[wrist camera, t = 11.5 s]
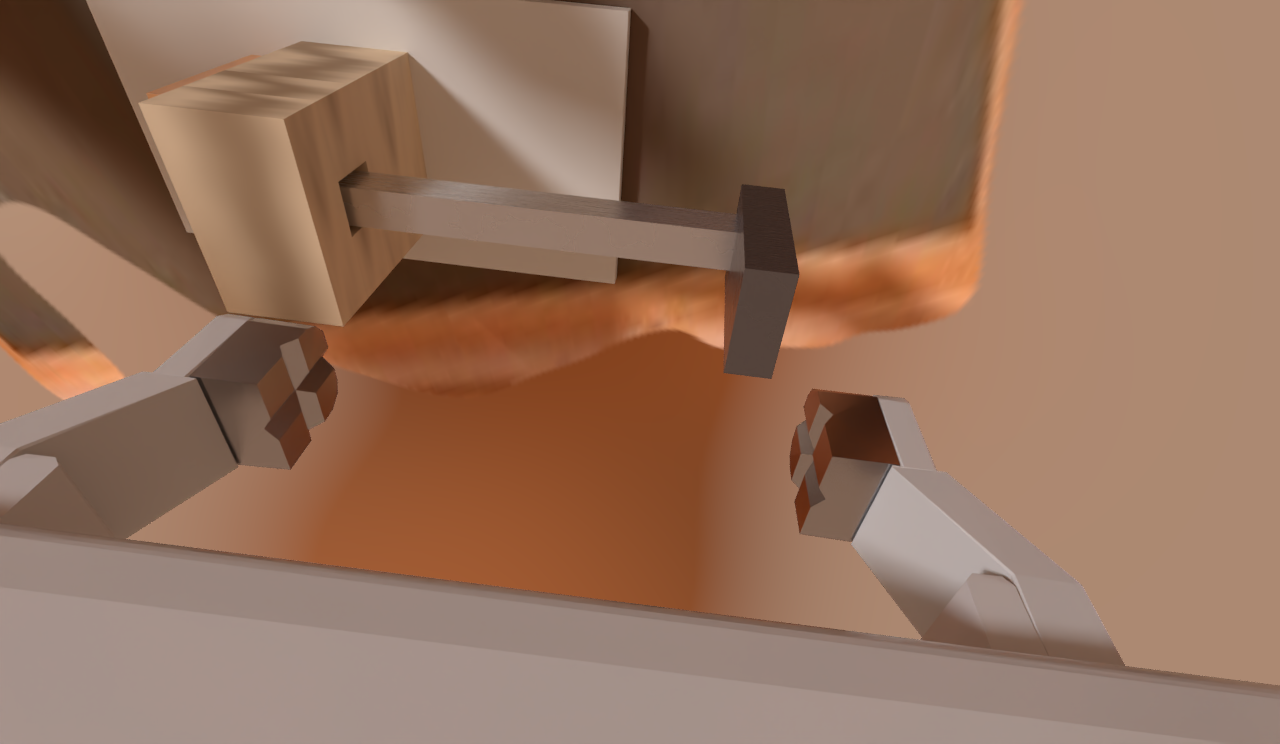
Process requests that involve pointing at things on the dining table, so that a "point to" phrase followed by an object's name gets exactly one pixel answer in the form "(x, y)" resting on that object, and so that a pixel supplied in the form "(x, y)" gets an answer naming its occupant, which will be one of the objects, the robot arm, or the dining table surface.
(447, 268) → the dining table surface
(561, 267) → the base board
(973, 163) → the dining table surface
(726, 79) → the dining table surface
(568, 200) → the shaft
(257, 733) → the robot arm
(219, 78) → the bearing block
